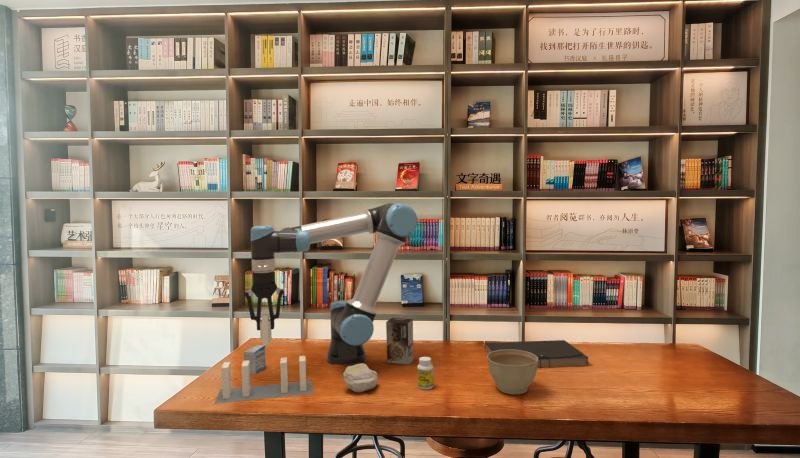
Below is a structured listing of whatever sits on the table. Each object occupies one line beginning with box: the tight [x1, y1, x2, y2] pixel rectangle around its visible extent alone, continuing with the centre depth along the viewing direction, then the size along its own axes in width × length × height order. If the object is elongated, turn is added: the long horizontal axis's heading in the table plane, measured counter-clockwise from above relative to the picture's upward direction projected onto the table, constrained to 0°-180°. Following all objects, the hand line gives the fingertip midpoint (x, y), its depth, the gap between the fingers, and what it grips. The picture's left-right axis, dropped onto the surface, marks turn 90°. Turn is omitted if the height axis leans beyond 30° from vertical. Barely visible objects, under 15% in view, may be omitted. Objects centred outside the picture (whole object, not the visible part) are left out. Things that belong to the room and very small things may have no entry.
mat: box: [214, 380, 314, 405], centre depth 155 cm, size 30×11×1 cm, turn 102°
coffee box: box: [385, 317, 414, 365], centre depth 183 cm, size 9×6×16 cm
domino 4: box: [280, 356, 289, 393], centre depth 156 cm, size 2×5×10 cm, turn 12°
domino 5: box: [298, 355, 307, 391], centre depth 157 cm, size 2×5×10 cm, turn 12°
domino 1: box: [221, 361, 233, 399], centre depth 152 cm, size 2×5×10 cm, turn 12°
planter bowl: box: [486, 349, 538, 395], centre depth 155 cm, size 16×16×11 cm
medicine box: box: [243, 344, 267, 375], centre depth 174 cm, size 8×4×9 cm, turn 168°
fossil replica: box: [342, 362, 379, 393], centre depth 157 cm, size 12×8×10 cm
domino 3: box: [261, 312, 270, 347], centre depth 163 cm, size 2×5×10 cm, turn 12°
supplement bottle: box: [416, 356, 435, 390], centre depth 158 cm, size 5×5×10 cm
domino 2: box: [241, 360, 252, 397], centre depth 154 cm, size 2×5×10 cm, turn 12°
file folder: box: [484, 339, 589, 369], centre depth 186 cm, size 33×4×24 cm
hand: (266, 338), depth 163 cm, fingers closed on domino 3, 2 cm apart
